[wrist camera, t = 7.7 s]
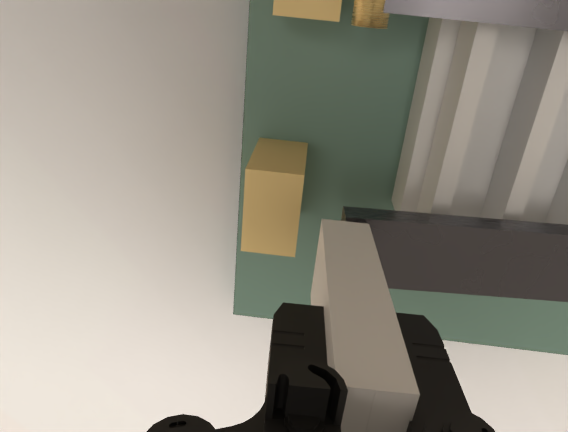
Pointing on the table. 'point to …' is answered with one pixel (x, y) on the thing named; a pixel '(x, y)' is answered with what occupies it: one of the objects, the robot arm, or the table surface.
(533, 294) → the strap
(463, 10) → the strap
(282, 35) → the board
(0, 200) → the table surface
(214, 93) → the table surface
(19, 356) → the table surface
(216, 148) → the table surface
